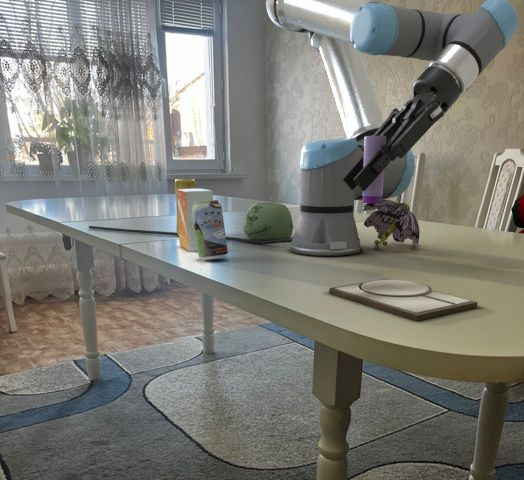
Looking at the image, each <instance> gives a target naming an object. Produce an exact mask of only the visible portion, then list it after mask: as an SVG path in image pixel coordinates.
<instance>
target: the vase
mask: <svg viewBox="0 0 524 480" xmlns="http://www.w3.org/2000/svg"><path fill="white" fill-rule="evenodd" d="M196 187H197V186H196V179H193V178H192V179H191V178H190V179H186V178H184V179H183V178H182V179H175V180H174V192H175V206H176V233H178V235H177V236H176V237H179V221H178V203H177V189H197V188H196Z"/></svg>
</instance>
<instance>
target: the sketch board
mask: <svg viewBox="0 0 524 480" xmlns="http://www.w3.org/2000/svg"><path fill="white" fill-rule="evenodd" d="M328 289H329V290H328V293H329V294H331V295H334V296H337V297H341V298H343V299H345V300H346V299H347V300H350V301H352V302H355V303H360V304H362V305H364V306H365V305H366V306H368V307H372V308H375V309H378V310H382V311H383V312H388V313H391V314H393V315H397V316H400V317H403V318H406V319H410V320H413V321H416V322H419V321H424V320H428V319H431V318H432V319H433V318H436V317H440V316H444V315H450V314H454V313H459V312H462V311H467V310H472V309H476V308H478V303H479V302H478V301H475V300H471V299H467V298H464V297H459V296H455V295H451V294H448V293H444V292H439V291H435V290H433V288H432V287H431V286H429V285H427V284H424V283H420V282H417V281H410V280H403V279H402V280H401V279H388V278H382V279H377V280H375V279H374V280H369V281H368V280H367V281H364V282H359V283H352V284H345V285H341V286H335V287H329V288H328Z"/></svg>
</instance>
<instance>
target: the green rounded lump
mask: <svg viewBox="0 0 524 480" xmlns="http://www.w3.org/2000/svg"><path fill="white" fill-rule="evenodd" d="M293 230H294V223H293V217H292V214H291V212H290V210H289V208H288V206H286V205H285V204H283V203H281V202H257V203H254V204H251V205H250V206H249V208H248V210H247V211H246V213H245V216H244V219H243V233H244V236H245V237H246V238H247V239H250V240H257V241H271V240H280V239H290V237H291V236H292V235H293Z"/></svg>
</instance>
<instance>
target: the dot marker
mask: <svg viewBox="0 0 524 480" xmlns="http://www.w3.org/2000/svg"><path fill="white" fill-rule="evenodd" d="M383 144H386V136H365V140H364V161H363V168H364V166H365V165H366V164H367V163H368V162H369V161H370V160H371V159H372V157H373V156H374V155H375V154H376V153H377V152H378V151H379V150H381V151H382V152H383V153H384V151H383V150H382V149H381V147H380V146H381V145H383ZM383 180H384V170H383V171H382V172H381V173H380V174H379V175H378V177H377V178H376V179H375V180H374V181H373V182H372V183H371V184H370V186H369V187H368V188H367V189H366V190H365V191H362V196H363V200H362V204H367V203H381V196H383Z"/></svg>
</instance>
